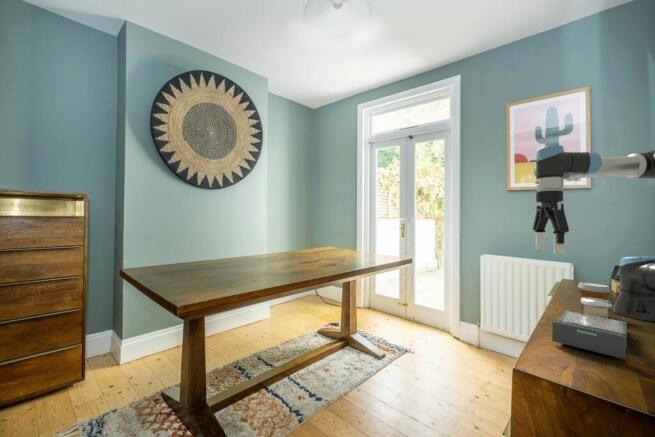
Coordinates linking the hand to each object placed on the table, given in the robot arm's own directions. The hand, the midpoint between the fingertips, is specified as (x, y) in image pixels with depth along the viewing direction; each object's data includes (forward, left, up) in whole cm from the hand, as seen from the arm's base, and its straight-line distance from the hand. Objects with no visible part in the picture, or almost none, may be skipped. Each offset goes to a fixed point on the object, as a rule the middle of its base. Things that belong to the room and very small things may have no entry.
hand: (548, 251), depth 101 cm
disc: (-17, -1, -18) cm, 25 cm away
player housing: (-8, +8, -25) cm, 28 cm away
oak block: (-17, -1, -25) cm, 31 cm away
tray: (+1, +17, -24) cm, 30 cm away
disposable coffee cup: (-26, -12, -25) cm, 39 cm away
